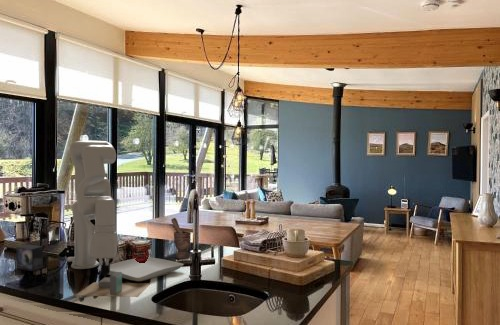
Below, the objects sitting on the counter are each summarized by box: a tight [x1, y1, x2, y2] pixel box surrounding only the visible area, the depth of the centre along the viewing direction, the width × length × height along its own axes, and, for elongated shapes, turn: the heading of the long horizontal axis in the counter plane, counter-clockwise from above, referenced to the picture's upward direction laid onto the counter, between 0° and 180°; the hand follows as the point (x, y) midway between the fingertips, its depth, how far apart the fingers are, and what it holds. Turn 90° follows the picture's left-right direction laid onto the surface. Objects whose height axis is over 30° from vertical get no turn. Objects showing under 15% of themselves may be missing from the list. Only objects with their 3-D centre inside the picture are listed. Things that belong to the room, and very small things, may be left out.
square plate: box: [97, 256, 185, 282], centre depth 186 cm, size 27×27×4 cm
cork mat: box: [74, 281, 152, 298], centre depth 163 cm, size 24×16×1 cm, turn 86°
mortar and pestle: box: [170, 217, 192, 260], centre depth 216 cm, size 12×9×20 cm
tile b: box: [109, 272, 123, 295], centre depth 159 cm, size 2×6×7 cm, turn 176°
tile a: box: [98, 277, 110, 288], centre depth 167 cm, size 2×6×7 cm
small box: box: [15, 244, 44, 272], centre depth 195 cm, size 11×6×10 cm, turn 68°
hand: (105, 274), depth 167 cm, fingers closed
